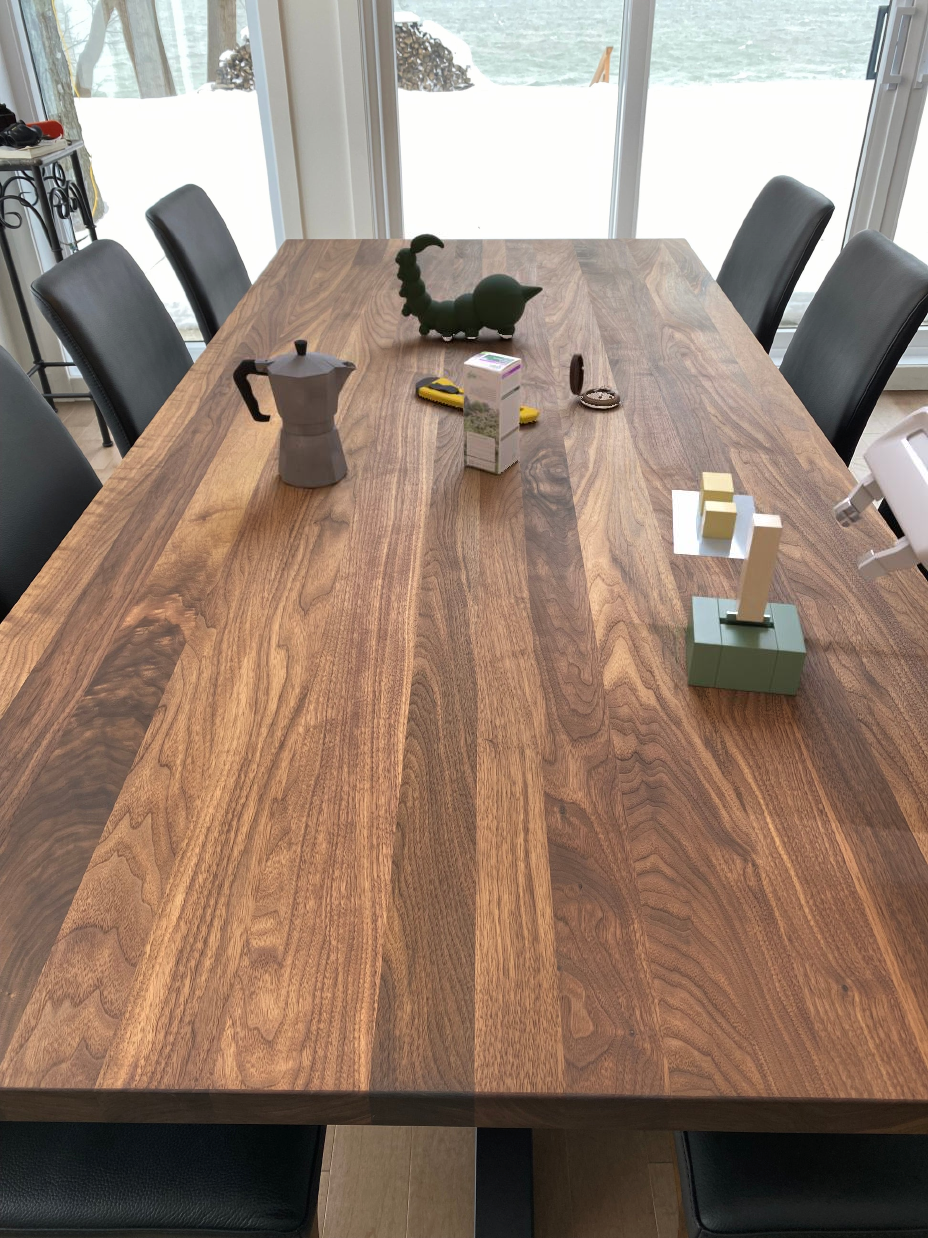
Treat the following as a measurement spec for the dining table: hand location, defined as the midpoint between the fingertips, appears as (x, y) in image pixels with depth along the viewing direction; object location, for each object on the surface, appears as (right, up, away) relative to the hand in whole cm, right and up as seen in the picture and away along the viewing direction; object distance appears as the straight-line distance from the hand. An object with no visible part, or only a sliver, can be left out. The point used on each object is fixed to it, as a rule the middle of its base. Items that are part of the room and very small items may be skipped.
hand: (848, 544), depth 86 cm
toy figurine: (-33, +44, +89) cm, 105 cm away
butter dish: (-4, +4, +31) cm, 31 cm away
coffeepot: (-55, +13, +43) cm, 71 cm away
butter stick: (-3, +7, +33) cm, 34 cm away
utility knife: (-32, +26, +63) cm, 75 cm away
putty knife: (-7, -11, +9) cm, 16 cm away
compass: (-14, +27, +65) cm, 71 cm away
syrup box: (-30, +14, +46) cm, 57 cm away
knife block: (-7, -11, +9) cm, 16 cm away
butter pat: (-4, +3, +28) cm, 29 cm away
